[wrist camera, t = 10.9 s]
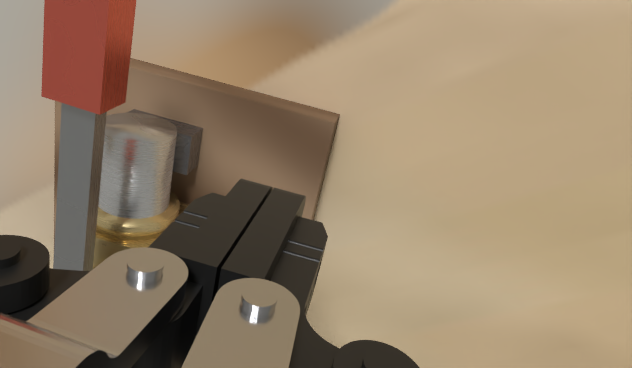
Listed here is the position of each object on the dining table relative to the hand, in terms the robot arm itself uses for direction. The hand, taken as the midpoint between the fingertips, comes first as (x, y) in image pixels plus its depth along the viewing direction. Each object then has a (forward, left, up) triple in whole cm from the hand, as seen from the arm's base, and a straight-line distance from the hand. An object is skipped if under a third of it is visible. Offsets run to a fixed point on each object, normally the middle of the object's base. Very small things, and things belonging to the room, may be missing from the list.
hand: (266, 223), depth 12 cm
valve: (-9, +8, -13) cm, 18 cm away
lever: (-4, +8, -6) cm, 11 cm away
